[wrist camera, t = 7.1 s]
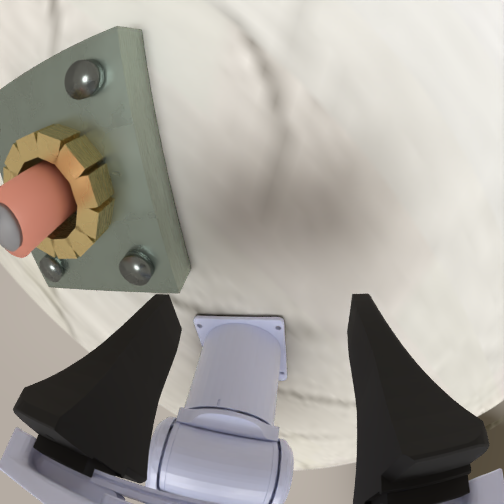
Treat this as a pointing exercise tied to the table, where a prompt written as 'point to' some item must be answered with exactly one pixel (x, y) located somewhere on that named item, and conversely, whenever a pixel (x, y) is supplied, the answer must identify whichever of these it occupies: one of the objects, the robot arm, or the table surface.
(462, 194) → the table surface
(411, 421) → the robot arm
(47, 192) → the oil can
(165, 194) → the metal plate with ring
